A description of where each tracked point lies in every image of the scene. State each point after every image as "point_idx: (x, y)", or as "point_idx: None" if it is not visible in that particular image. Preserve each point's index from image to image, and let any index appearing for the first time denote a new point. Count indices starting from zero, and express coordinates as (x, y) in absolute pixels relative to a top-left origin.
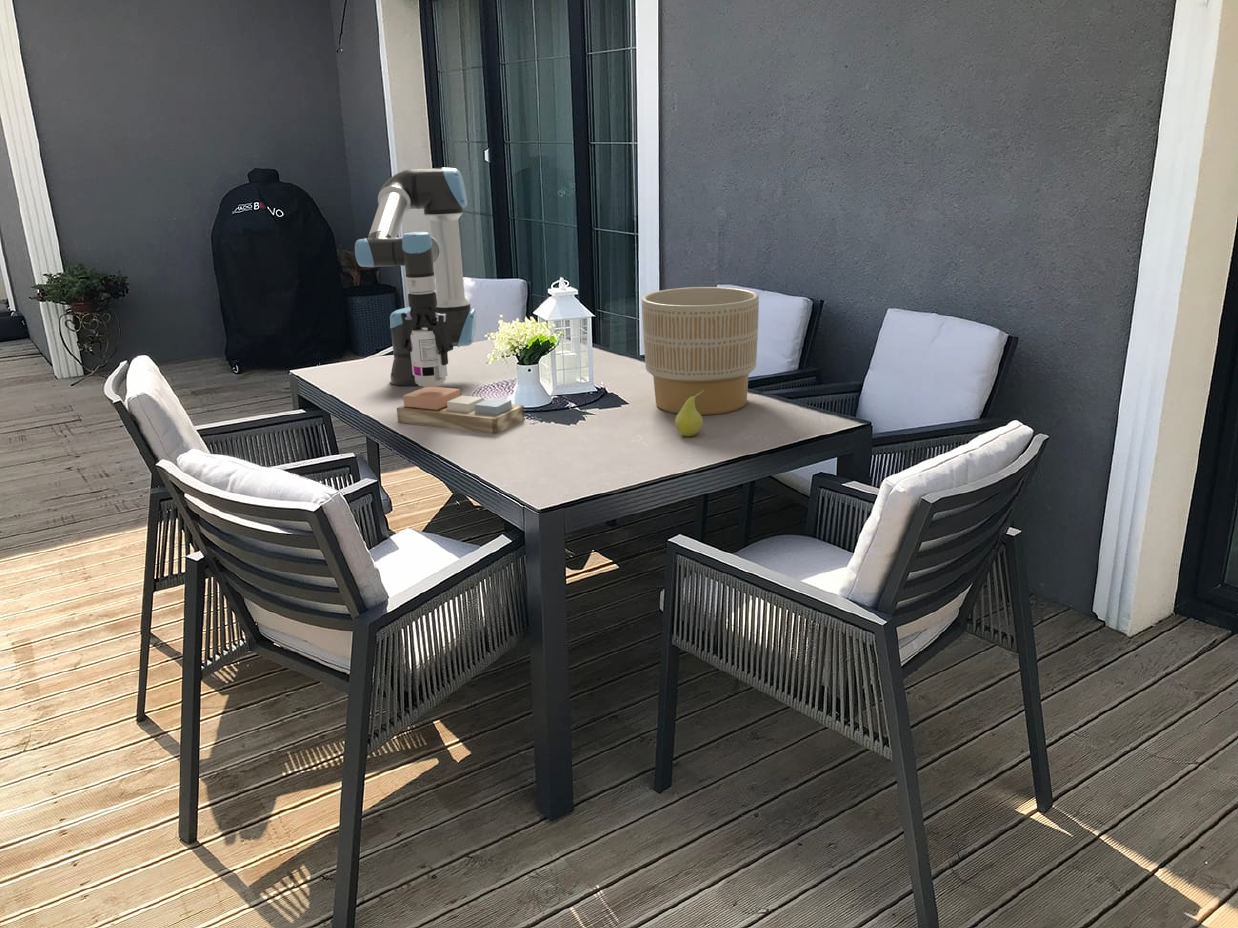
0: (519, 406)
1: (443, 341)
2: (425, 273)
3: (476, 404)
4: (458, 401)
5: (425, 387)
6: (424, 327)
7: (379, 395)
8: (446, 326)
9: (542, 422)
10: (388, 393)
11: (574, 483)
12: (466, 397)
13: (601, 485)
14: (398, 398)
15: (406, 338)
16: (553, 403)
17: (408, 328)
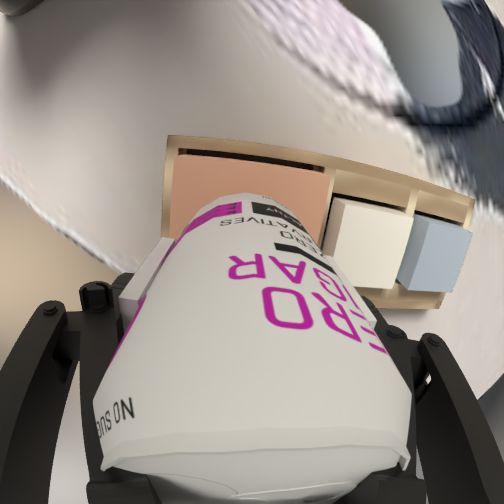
0: (470, 209)
1: (417, 421)
2: None
3: (411, 287)
4: (359, 273)
5: (177, 178)
6: (138, 456)
7: (10, 85)
8: (485, 468)
9: (479, 206)
10: (19, 63)
11: (479, 386)
12: (368, 226)
13: (492, 378)
14: (50, 80)
15: (59, 396)
16: (460, 63)
17: (33, 453)
